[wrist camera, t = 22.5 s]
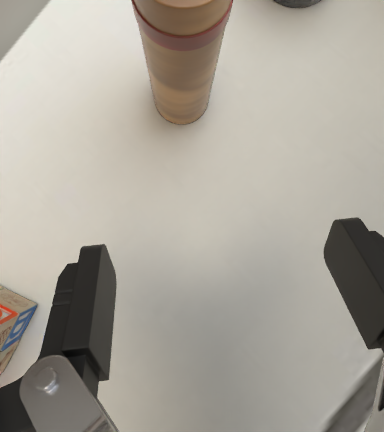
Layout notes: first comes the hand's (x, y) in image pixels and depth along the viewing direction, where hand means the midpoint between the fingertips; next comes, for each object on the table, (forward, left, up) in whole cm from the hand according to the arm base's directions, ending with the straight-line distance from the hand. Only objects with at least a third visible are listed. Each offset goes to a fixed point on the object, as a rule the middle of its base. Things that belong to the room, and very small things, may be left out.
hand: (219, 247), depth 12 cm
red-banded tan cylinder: (-4, -11, -16) cm, 20 cm away
